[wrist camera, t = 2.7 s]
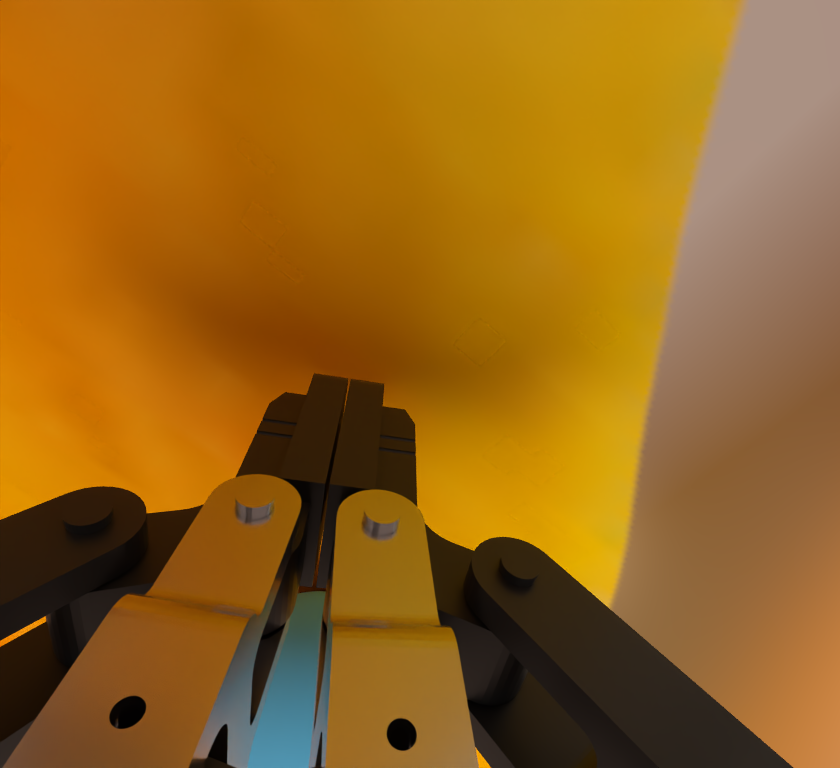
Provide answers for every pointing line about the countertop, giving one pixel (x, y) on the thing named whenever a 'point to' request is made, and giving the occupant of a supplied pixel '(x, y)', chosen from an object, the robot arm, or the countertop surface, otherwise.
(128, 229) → the countertop surface
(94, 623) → the robot arm
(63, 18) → the countertop surface
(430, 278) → the countertop surface
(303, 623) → the ball
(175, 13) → the countertop surface
